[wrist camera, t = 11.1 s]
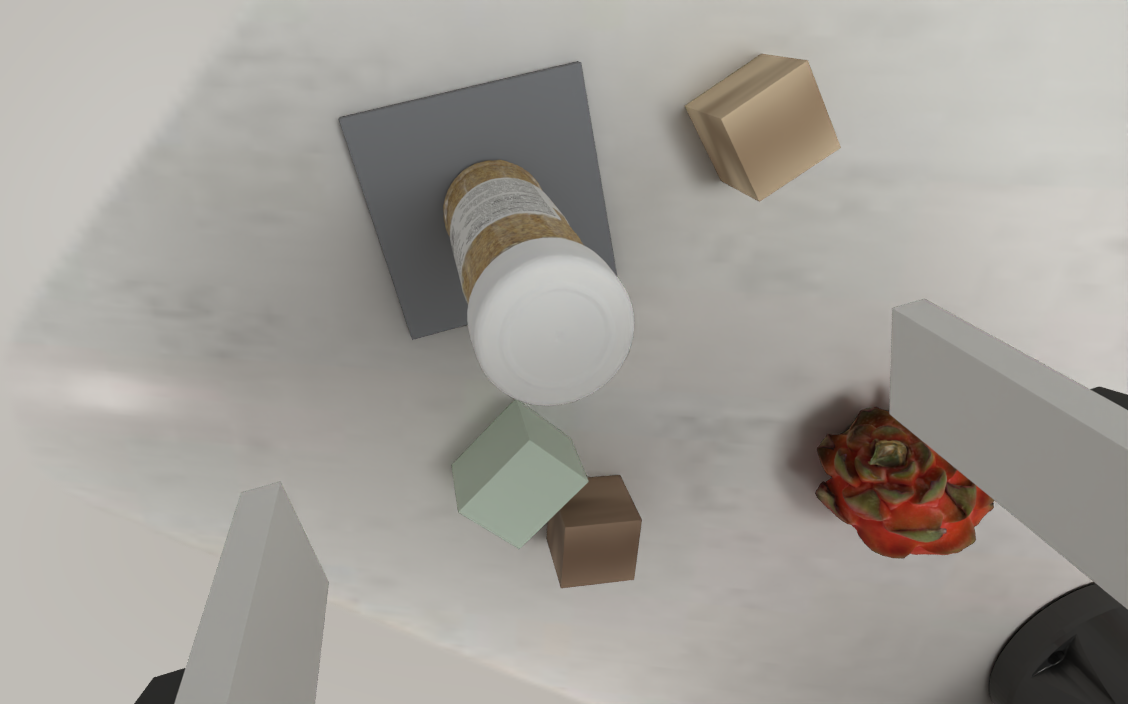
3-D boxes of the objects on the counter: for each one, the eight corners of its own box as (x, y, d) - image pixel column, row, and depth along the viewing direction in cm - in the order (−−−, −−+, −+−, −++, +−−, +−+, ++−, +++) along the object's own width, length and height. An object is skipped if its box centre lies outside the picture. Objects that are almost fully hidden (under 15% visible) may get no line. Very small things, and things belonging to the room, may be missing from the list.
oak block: (793, 132, 33) (840, 147, 30) (720, 180, 33) (759, 201, 30) (760, 53, 31) (807, 60, 28) (683, 105, 32) (721, 119, 28)
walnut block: (613, 530, 42) (634, 579, 38) (546, 537, 41) (560, 588, 37) (619, 474, 40) (641, 519, 36) (549, 480, 39) (565, 527, 35)
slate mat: (614, 279, 34) (618, 284, 34) (411, 334, 33) (412, 339, 33) (577, 61, 30) (581, 62, 29) (339, 117, 29) (338, 119, 28)
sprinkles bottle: (544, 257, 32) (632, 405, 21) (442, 261, 32) (475, 418, 20) (545, 155, 30) (645, 254, 19) (438, 156, 30) (471, 261, 18)
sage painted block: (570, 436, 38) (588, 481, 35) (507, 499, 39) (519, 549, 35) (515, 397, 36) (529, 439, 33) (451, 464, 37) (458, 512, 34)
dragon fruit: (783, 386, 42) (900, 433, 48) (766, 534, 39) (892, 563, 46) (925, 375, 34) (1042, 431, 41) (914, 555, 32) (1038, 586, 39)
